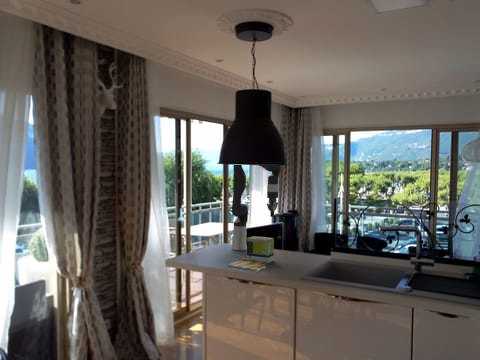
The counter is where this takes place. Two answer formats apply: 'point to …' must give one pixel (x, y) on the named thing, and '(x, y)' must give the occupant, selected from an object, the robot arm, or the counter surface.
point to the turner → (262, 268)
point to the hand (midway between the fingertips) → (272, 216)
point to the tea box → (260, 249)
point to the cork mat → (248, 264)
